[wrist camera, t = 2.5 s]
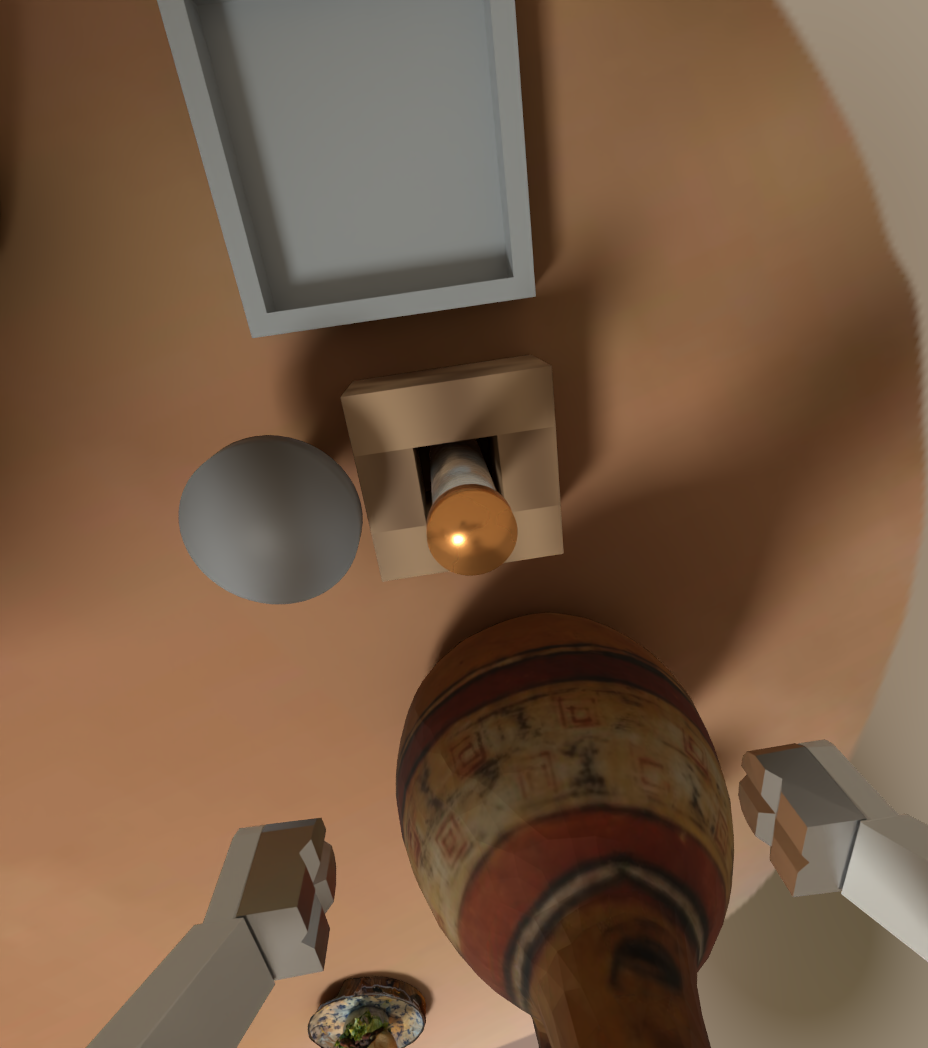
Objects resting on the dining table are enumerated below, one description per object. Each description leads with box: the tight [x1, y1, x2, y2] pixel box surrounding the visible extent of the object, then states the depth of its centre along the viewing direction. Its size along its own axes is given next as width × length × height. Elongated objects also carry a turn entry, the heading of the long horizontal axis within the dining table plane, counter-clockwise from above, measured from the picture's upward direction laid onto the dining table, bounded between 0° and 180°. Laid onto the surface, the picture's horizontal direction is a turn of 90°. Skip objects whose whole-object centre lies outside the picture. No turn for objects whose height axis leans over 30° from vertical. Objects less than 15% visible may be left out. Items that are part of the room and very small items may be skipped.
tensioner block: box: [179, 355, 564, 604], centre depth 28 cm, size 18×10×8 cm, turn 98°
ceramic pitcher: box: [396, 612, 734, 1048], centre depth 26 cm, size 20×20×30 cm
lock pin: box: [426, 439, 518, 575], centre depth 26 cm, size 4×4×12 cm
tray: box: [157, 0, 536, 338], centre depth 24 cm, size 14×14×2 cm
